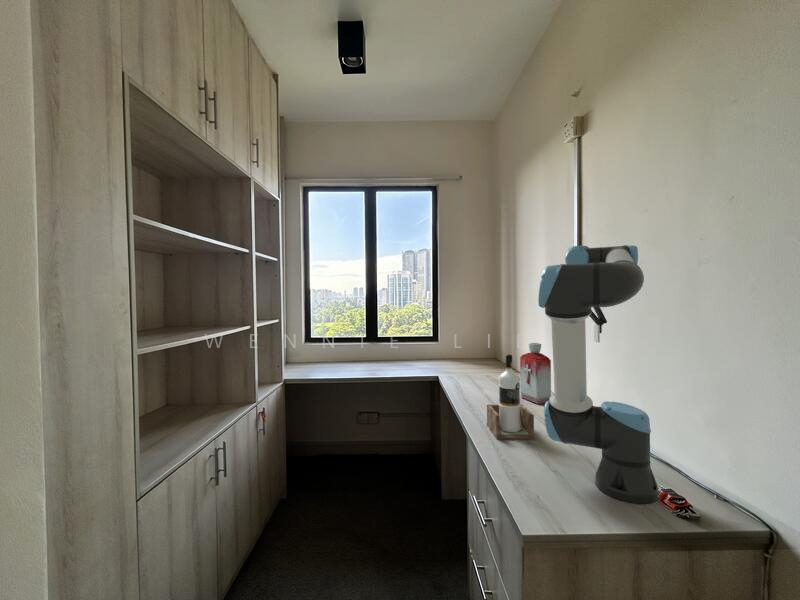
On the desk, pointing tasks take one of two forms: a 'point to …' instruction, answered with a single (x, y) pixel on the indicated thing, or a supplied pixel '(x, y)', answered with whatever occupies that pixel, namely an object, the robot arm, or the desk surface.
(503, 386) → the vodka
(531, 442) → the desk surface
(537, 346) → the bottle
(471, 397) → the desk surface
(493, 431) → the wooden box
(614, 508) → the desk surface
